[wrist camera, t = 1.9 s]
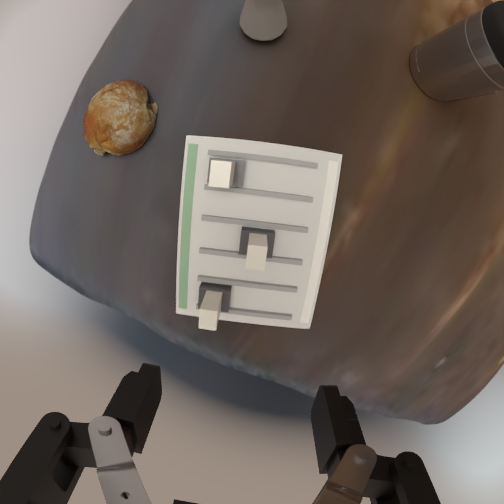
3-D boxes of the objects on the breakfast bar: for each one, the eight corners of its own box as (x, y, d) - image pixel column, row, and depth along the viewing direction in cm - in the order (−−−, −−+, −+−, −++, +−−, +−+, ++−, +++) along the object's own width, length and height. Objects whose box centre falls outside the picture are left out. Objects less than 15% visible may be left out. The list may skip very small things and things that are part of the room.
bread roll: (167, 138, 39) (173, 119, 32) (103, 174, 36) (94, 163, 29) (138, 85, 36) (139, 58, 29) (75, 118, 34) (64, 96, 26)
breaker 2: (231, 285, 39) (226, 310, 33) (229, 305, 40) (224, 333, 34) (201, 281, 39) (190, 306, 33) (200, 301, 40) (190, 328, 34)
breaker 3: (274, 230, 37) (277, 246, 30) (271, 253, 38) (273, 273, 31) (242, 226, 37) (238, 241, 30) (239, 249, 38) (235, 269, 31)
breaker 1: (245, 160, 35) (242, 161, 28) (242, 185, 36) (238, 191, 29) (212, 157, 35) (201, 157, 28) (209, 181, 36) (198, 187, 29)
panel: (339, 154, 36) (344, 154, 33) (308, 323, 43) (310, 332, 41) (189, 136, 35) (184, 134, 33) (178, 308, 43) (174, 316, 40)
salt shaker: (257, 54, 32) (256, 8, 19) (232, 25, 31) (220, -26, 18) (294, 33, 31) (309, -16, 18) (268, 5, 29) (271, -49, 17)
